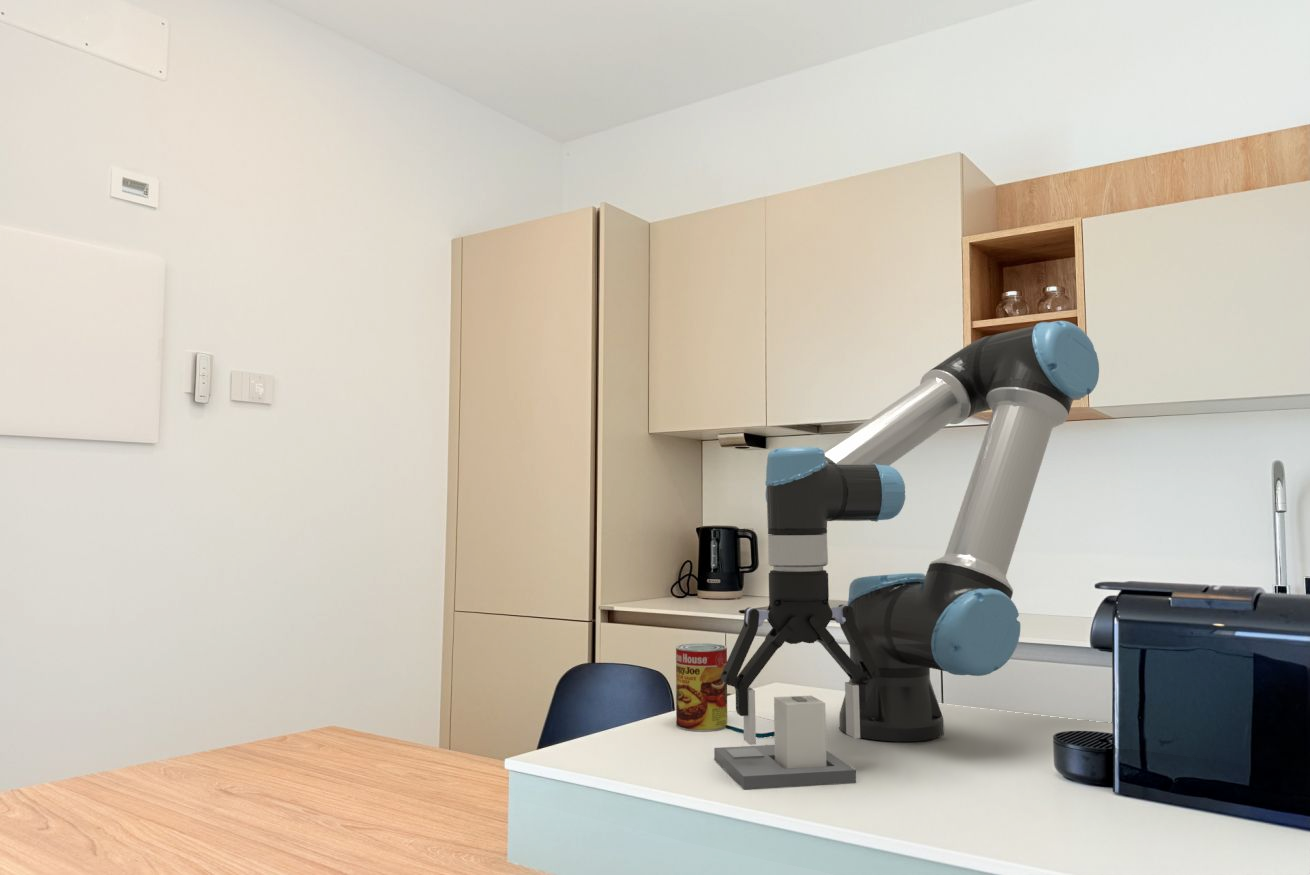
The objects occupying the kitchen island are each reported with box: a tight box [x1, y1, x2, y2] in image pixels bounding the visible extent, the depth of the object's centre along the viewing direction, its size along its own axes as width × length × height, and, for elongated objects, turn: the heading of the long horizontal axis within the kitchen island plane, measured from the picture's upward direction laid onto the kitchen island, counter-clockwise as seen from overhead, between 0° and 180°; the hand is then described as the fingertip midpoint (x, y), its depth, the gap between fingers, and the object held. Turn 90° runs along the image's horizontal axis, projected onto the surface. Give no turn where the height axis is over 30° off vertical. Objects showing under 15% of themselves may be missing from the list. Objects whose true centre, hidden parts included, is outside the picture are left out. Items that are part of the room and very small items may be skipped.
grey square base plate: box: [713, 744, 857, 790], centre depth 118 cm, size 14×14×2 cm
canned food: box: [675, 642, 728, 733], centre depth 145 cm, size 8×8×12 cm
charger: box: [773, 695, 827, 769], centre depth 118 cm, size 5×5×9 cm
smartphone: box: [725, 710, 775, 739], centre depth 145 cm, size 8×1×16 cm
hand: (802, 739), depth 118 cm, fingers open, 13 cm apart
